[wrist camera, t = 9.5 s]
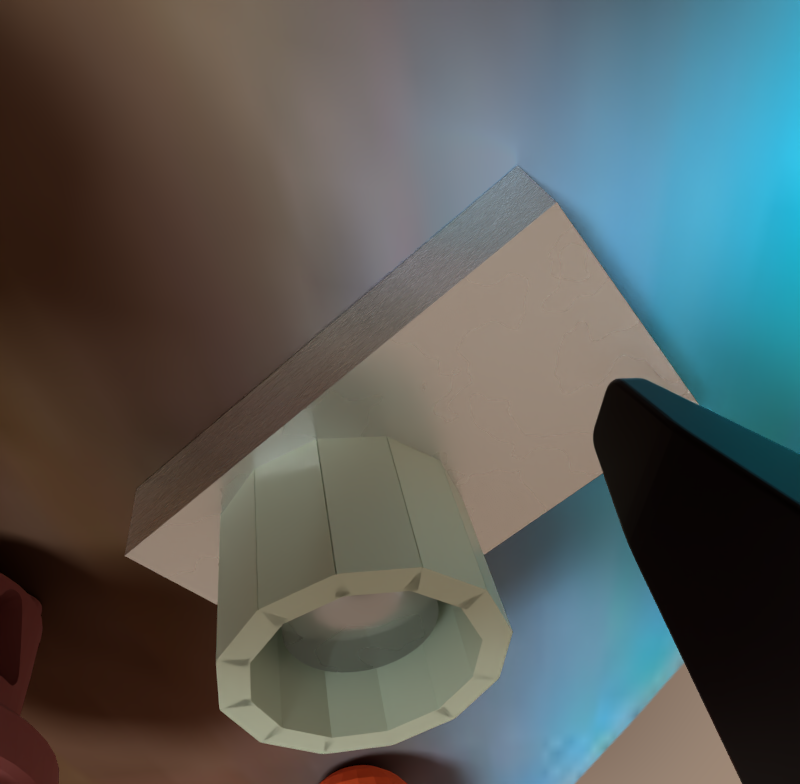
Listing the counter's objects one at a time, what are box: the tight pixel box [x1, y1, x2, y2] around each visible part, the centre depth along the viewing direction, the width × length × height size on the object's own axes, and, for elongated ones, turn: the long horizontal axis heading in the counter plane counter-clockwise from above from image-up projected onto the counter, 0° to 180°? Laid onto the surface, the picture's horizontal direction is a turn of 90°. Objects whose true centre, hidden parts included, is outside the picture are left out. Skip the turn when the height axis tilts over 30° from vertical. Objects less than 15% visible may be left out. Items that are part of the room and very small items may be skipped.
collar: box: [216, 436, 513, 754], centre depth 20 cm, size 8×8×5 cm
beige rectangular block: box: [125, 166, 699, 672], centre depth 21 cm, size 9×16×6 cm, turn 129°
